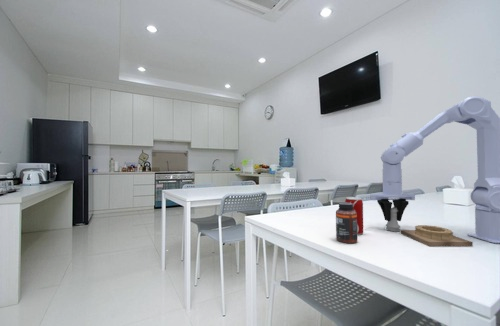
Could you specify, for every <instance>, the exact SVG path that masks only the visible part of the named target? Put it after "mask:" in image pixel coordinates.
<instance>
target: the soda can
mask: <svg viewBox="0 0 500 326" xmlns="http://www.w3.org/2000/svg"><path fill="white" fill-rule="evenodd" d="M344 202H347V203H352V204H353V210H354V211H356V213H357V236H360V235H362V234H364V202H363V199H362V197H353V196H351V197H350V196H349V197H345V201H344Z"/></svg>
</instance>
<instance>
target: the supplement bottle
mask: <svg viewBox="0 0 500 326" xmlns="http://www.w3.org/2000/svg"><path fill="white" fill-rule="evenodd" d="M335 233H336V234H335V236H336V240H337V241H338V242H341V243H343V244H344V243H345V244H354V243H357V242H358V239H359V238H358V235H357V213H356V211H354V210H353V204H352V203H347V202H345V201H344V202H339V203H338V209H336V211H335Z"/></svg>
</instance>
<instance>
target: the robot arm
mask: <svg viewBox="0 0 500 326" xmlns="http://www.w3.org/2000/svg"><path fill="white" fill-rule="evenodd" d="M454 122H455V123H458V124H463V125H467V126H469V127H471V128H473V129H475V131H476V154H477V155H476V157H477V159H476V160H477V179H476V180H475V182H474V183H473V190H472V191H471V193H470V200H471V202H472V203H473V204H474V205H475V206H474V218H475V219H474V222H475V223H474V224H475V225H474V227H475V233H467V236H470V237H472V238H476V239H479V240H482V241H485V242H489V243H492V244H500V116H499V115H498V114H497V112H496V111H495V110H494V109H493V107H492V102H491V100H488V99H486V98H484V97H481V96H478V95H474V96H468V97H466V98H465V99H463V100H462V101H460V102H458V103H457V104H454V105H452V106H451V107H449V108H447V109H445V110H444V111H443V110H442V112H439V114H437V115H436V116H435V117H434V118H432V119H430V121H428V122H427V123H426V124H425V125H423V126H422V127H421V128H419V129H418V130H417V131H416V132H410V131H409V132H407V133H404V134H401V138H400V139H399V140H397V141H396V142H394V143H391V144H390V145H389V147H388V148H387V149H385V150H384V151H382V153H381V156H380V160H381V162H382V170H381V172H382V193H370V200H371V201H377V204H378V205H379V207H380V209H381V211H382V214H383V217H384V220H385V221H387V222H388V221H390V220H391V208H392V207H394V208H395V207H396V208H397V210H398V212H397V222H401V221H402V217H403V214H404V212H405V210H406V208H407V207H408V206H409V201H416V195H415V194H412V193H403V182H402V181H403V180H402V179H403V178H402V177H403V174H402V173H403V172H402V171H403V170H402V162H403V160H404V157H407V156H409V155H410V154H412V153H413V152H414V151H415V150H417V149H419V148H420V147H421V146H423V144H424V139H426V137H429V135H431V134H432V133H434V132H435V131H437V130H438V129H440V128H441V127H442V126H444V125H446V124H451V123H454ZM392 205H393V206H392Z"/></svg>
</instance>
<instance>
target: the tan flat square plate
mask: <svg viewBox="0 0 500 326" xmlns="http://www.w3.org/2000/svg"><path fill="white" fill-rule="evenodd" d="M453 233H454V232H453V231H452V230H451V229H449V228H445V227H443V226H442V227H440V226H435V225H425V224H423V225H415V228H414V229H400V235H403V236H405V237H408V238H410V239H411V240H414V241H416V242H419V243H421V244H422V245H423V244H424V245H426V246H428V247H473V241H471V240H468V239H464V238H461V237H459V236H456V235H454V234H453Z"/></svg>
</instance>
